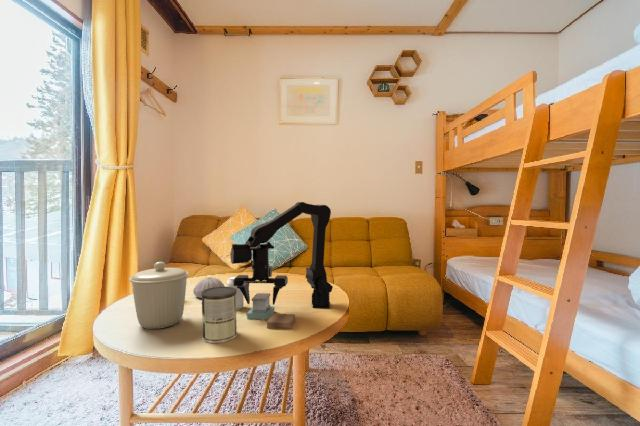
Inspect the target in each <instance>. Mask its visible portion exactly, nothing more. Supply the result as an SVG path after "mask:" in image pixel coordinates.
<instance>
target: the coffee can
mask: <svg viewBox="0 0 640 426" xmlns="http://www.w3.org/2000/svg"><path fill="white" fill-rule="evenodd" d="M201 296H202V298H201V321H202V322H201V323H202V324H201V326H202V327H201V328H202V330H201V331H202V337H201V338H202V340H203V342H206V343H208V344H221V343H225V342H229V341H231V340H233V339H235V338H236V337H237V335H238V332H237V331H238V330H237V329H238V327H237V321H238V320H237V310H236V289H235V288H233V287H227V286H225V287H213V288H209V289H206V290H204V291H202V292H201Z"/></svg>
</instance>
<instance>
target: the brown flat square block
mask: <svg viewBox="0 0 640 426" xmlns="http://www.w3.org/2000/svg"><path fill="white" fill-rule="evenodd" d="M295 321H296V314H294V313H289V314H288V313H273V314H272V315H271V317H270V318H269V319H267V321H266V329H273V330H274V329H276V330H277V329H278V330H279V329H280V330H284V329H285V330H292V328H293V327H294V324H295Z"/></svg>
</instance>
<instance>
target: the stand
mask: <svg viewBox="0 0 640 426" xmlns="http://www.w3.org/2000/svg"><path fill="white" fill-rule="evenodd" d="M252 310H253V306H252V307H251V308H250V309H249V311H247V313H246V317H247V320H269V318H270V317H271V315H272V314H275V312H276V311H275V306H274V305H270V308H269V309H268V311H267V312H266V313H252Z"/></svg>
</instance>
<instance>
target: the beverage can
mask: <svg viewBox="0 0 640 426" xmlns="http://www.w3.org/2000/svg"><path fill="white" fill-rule="evenodd" d="M237 276H238V275H231V276H229V277H228V279H227V281H226V287H233V288H235V289H236V311H238V310H241V309H242V308H243V307H244V306H245V305H244V304H245V303H244V301H245V300H244V299H245V297H244V295H243V293H242V292H241V290H240V289H239V288H237V286H233V280H234V278H236V277H237Z"/></svg>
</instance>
